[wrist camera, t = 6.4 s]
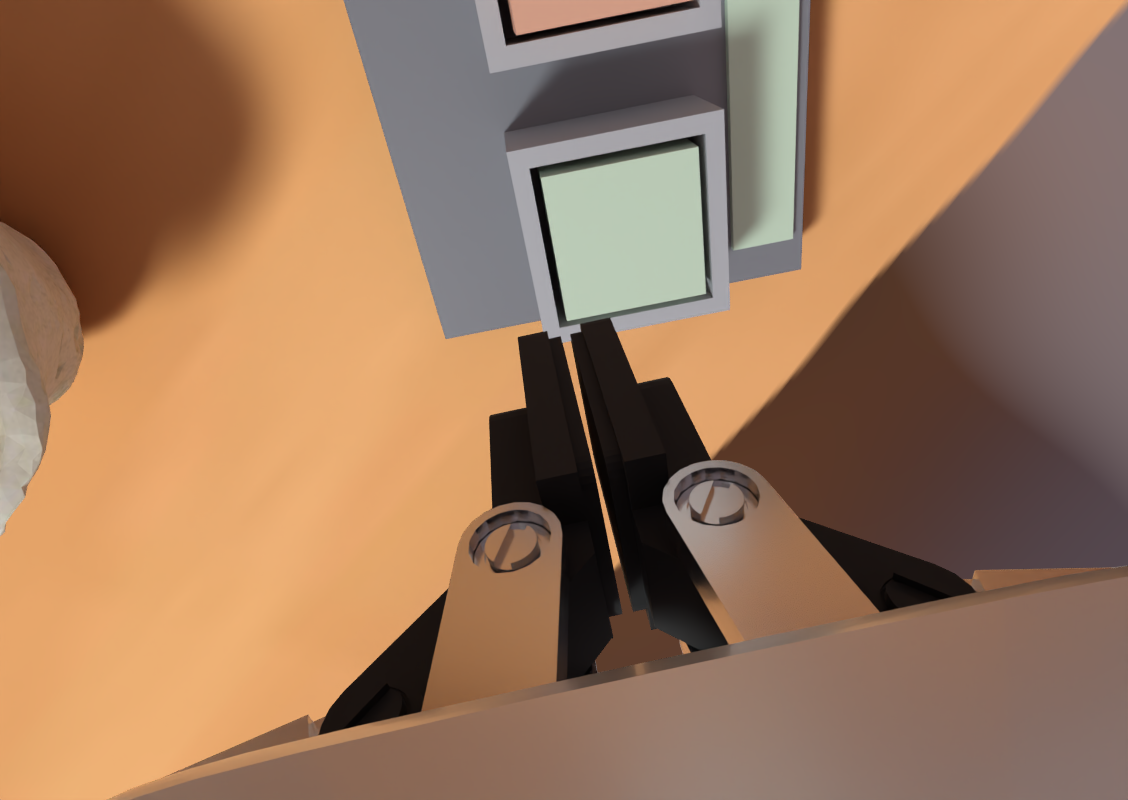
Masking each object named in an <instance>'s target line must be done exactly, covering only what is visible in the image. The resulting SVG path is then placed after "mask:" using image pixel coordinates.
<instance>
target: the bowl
mask: <svg viewBox="0 0 1128 800" xmlns="http://www.w3.org/2000/svg"><path fill="white" fill-rule="evenodd" d="M83 349H84V341H83V335H82V329H81V325H80V312H79V309H78V307H77V300H76V298H75V297H74V295H73V293H72V291H71V290H70V288H69V286H68V285H67V283H66V281H65V280H64V278H63V276H62V275H61V273H60V271H59V269H58V267H57V265H56V264H55V263H54V262H53V261H52V260H51V258H50V257H49V256H48V255H47V254H46V252H45V251H43V250H42V249H41V248H40V247H39V246H38V245H37V244H36V243H35V242H34V241H33V240H31V239H29V238H28V237H26V236H24V235H23V234H21V233H20V232H18V231H16V230H15V229H13V228H11V227H10V226H8V225H6V224H5V223H2V222H0V536H1V535H2V534H3V533H4V532H5V527H6V521H7V520H8V519H9V518H10V516H11V515H12V513H13V512H14V511H15V509H16V508H17V507H18V505H19V504H20V503H21V502H22V500H23V499H24V498H25V495H26V490H27V485H28V484H29V482H30V481H31V479H32V477H33V476H34V474H35V473H36V471H37V470H38V467H39V465H40V463H41V460H42V458H43V455H44V453H45V450H46V445H47V439H48V433H49V426H50V418H51V414H50V407H49V405H51V404H52V403H54V402H55V401H57V400H58V399H59V398H60V397H61V396H62V395H63V394H64V393H65V392H66V391H67V390H68V389H69V388H70V386H71V384H72V383H73V382H74V379H75V377H76V375H77V372H78V368H79V365H80V362H81V360H82V356H83Z"/></svg>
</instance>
